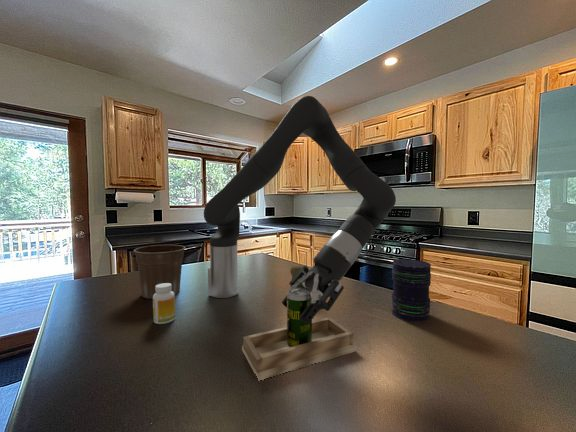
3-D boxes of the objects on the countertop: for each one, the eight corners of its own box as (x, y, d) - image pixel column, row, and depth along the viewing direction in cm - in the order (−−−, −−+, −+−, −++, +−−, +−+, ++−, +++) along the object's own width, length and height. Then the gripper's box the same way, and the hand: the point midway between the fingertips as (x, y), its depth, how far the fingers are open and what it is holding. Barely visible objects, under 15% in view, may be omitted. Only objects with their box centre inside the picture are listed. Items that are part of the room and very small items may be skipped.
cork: (307, 295, 91) (307, 263, 90) (307, 301, 85) (307, 268, 84) (290, 294, 92) (289, 263, 91) (288, 301, 86) (288, 267, 85)
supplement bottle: (179, 317, 74) (178, 283, 73) (164, 326, 69) (163, 289, 68) (164, 314, 76) (163, 281, 75) (148, 322, 71) (147, 287, 70)
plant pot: (195, 287, 100) (194, 244, 99) (168, 303, 84) (167, 253, 83) (156, 285, 103) (155, 243, 102) (123, 300, 87) (121, 251, 86)
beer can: (297, 337, 61) (297, 285, 60) (316, 345, 58) (316, 290, 57) (281, 346, 57) (281, 292, 56) (302, 356, 53) (301, 297, 53)
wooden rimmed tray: (259, 381, 47) (258, 362, 47) (242, 350, 57) (241, 334, 57) (355, 351, 57) (356, 335, 57) (327, 329, 67) (327, 315, 67)
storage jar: (428, 311, 77) (430, 260, 77) (431, 325, 69) (432, 268, 68) (392, 305, 82) (393, 257, 81) (390, 318, 73) (391, 264, 72)
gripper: (311, 240, 66) (269, 292, 61) (348, 249, 53) (297, 316, 48) (329, 259, 68) (289, 310, 64) (368, 272, 55) (322, 338, 51)
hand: (293, 313), depth 56 cm, fingers open, 8 cm apart
